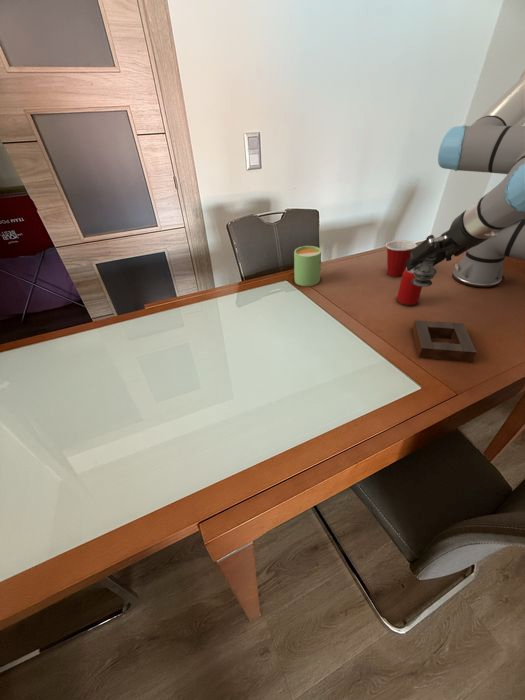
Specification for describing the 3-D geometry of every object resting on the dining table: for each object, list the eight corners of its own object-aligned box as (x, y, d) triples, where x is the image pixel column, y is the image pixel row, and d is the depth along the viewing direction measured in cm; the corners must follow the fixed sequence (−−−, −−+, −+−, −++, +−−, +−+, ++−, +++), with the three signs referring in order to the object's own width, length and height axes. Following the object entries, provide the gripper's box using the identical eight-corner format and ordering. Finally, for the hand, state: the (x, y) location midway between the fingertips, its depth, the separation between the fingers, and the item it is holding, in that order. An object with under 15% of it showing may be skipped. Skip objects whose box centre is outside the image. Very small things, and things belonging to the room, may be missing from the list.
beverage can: (417, 297, 106) (426, 265, 98) (417, 307, 101) (427, 274, 93) (396, 295, 108) (403, 263, 100) (396, 305, 103) (404, 272, 95)
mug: (323, 284, 118) (325, 254, 110) (296, 287, 117) (296, 257, 110) (316, 270, 127) (317, 242, 120) (291, 273, 127) (291, 245, 119)
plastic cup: (397, 265, 125) (404, 236, 117) (415, 276, 117) (423, 245, 109) (374, 270, 123) (379, 241, 115) (391, 282, 115) (398, 251, 107)
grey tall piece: (435, 287, 82) (449, 243, 74) (412, 287, 83) (423, 243, 75) (430, 277, 86) (443, 235, 78) (408, 277, 87) (419, 235, 79)
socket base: (459, 332, 89) (463, 323, 87) (471, 362, 80) (476, 352, 78) (411, 329, 92) (414, 320, 90) (418, 357, 83) (421, 347, 80)
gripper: (439, 245, 61) (388, 281, 84) (525, 235, 62) (451, 273, 85) (432, 210, 62) (384, 256, 85) (518, 200, 63) (446, 248, 86)
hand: (418, 264), depth 85 cm, fingers closed on grey tall piece, 5 cm apart
